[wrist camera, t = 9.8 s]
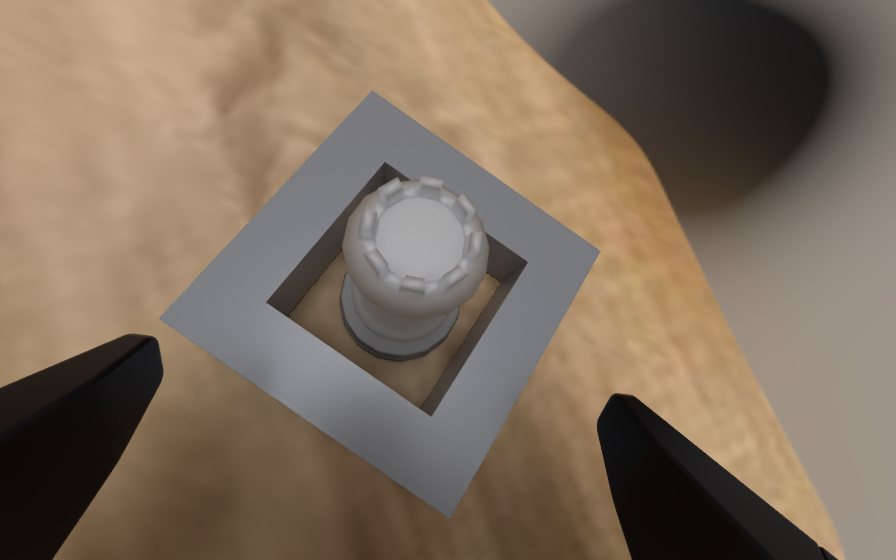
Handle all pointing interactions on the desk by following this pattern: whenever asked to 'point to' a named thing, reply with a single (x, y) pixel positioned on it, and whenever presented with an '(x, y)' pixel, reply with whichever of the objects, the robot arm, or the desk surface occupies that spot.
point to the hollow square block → (334, 376)
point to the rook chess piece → (410, 266)
